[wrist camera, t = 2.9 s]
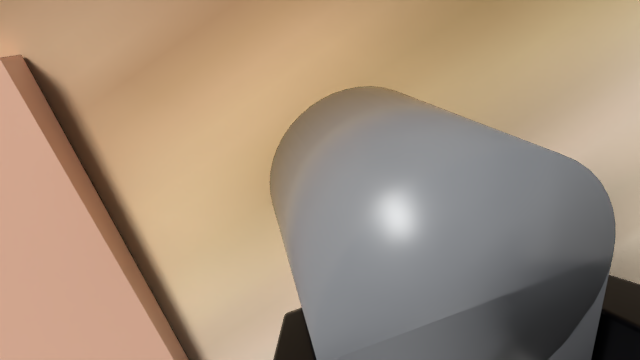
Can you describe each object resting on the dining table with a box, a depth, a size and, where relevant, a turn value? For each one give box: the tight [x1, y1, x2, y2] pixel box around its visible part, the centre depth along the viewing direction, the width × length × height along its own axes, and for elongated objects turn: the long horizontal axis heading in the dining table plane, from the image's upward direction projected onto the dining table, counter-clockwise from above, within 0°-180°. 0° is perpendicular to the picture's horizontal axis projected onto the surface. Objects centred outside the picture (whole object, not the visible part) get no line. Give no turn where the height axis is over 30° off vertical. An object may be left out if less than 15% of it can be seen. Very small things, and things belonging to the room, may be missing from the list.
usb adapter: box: [270, 86, 615, 360], centre depth 7 cm, size 10×4×4 cm, turn 12°
